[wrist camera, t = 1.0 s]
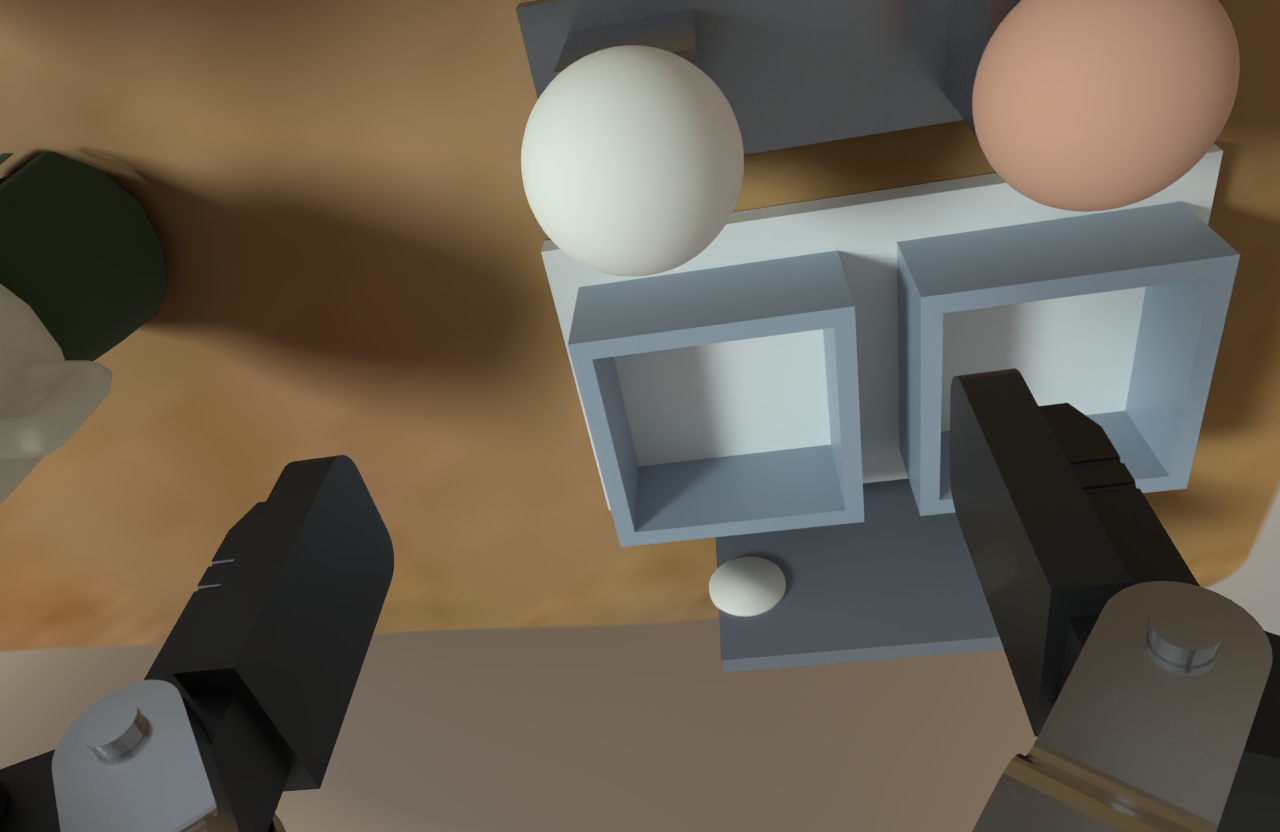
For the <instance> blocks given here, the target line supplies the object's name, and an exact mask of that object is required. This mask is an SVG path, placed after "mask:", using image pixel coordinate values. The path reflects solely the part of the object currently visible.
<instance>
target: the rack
mask: <svg viewBox="0 0 1280 832" xmlns="http://www.w3.org/2000/svg"><path fill="white" fill-rule="evenodd" d="M1222 154H1223V150H1222V149H1220V148H1219V147H1218V146H1216V145H1215V144H1214V143H1213V145H1212V146H1211V148H1210V149H1209V150H1208V152H1207V153H1206V154H1205V155H1204V156H1203V158H1202V159H1201V160H1200V161H1199V162H1198V163H1197V164H1196V165H1195V166H1194V167H1193V168H1192V169H1191V170H1190V171H1188V172H1187V173H1186V174H1185V175H1184V176H1182V177H1181V178H1180V179H1179V180H1177V181H1176V182H1174V183H1173V184H1171V185H1170V186H1168V187H1167V188H1165V189H1164V190H1162V191H1160V192H1158V193H1156V194H1154V195H1153V196H1151V197H1149V198H1146V199H1144V200H1141V201H1139V202H1137V203H1134V204H1131V205H1127V206H1124V207H1120V208H1115V209H1110V210H1103V211H1091V212H1078V211H1069V210H1062V209H1057V208H1052V207H1049V206H1046V205H1043V204H1040V203H1038V202H1036V201H1033V200H1031V199H1029V198H1027V197H1025V196H1023V195H1022V194H1020V193H1019V192H1017V191H1016V190H1014V189H1013V188H1011V187H1010V186H1009V185H1008V184H1007V183H1006V182H1005V181H1004V180H1003V179H1002V178H1001V177H1000V176H999V175H998V174H997V173H992V174H986V175H979V176H972V177H966V178H959V179H952V180H946V181H939V182H932V183H926V184H919V185H912V186H906V187H899V188H893V189H886V190H879V191H873V192H866V193H859V194H853V195H846V196H839V197H833V198H826V199H819V200H813V201H806V202H799V203H793V204H786V205H779V206H773V207H766V208H759V209H753V210H746V211H739V212H733V213H732V214H731V216H730V218H729V220H728V222H727V224H726V225H725V227H724V228H723V229H722V231H721V232H720V234H719V235H718V236H717V237H716V238H715V239H714V240H713V241H712V242H711V244H710V245H709V246H708V247H707V248H706V249H704V250H703V251H702V252H701V253H700V254H698V255H697V256H696V257H694V258H693V259H691V260H690V261H688V262H686V263H685V264H683V265H680V266H678V267H676V268H674V269H671V270H668V271H665V272H662V273H658V274H653V275H648V276H638V277H629V276H618V275H611V274H607V273H604V272H600V271H597V270H595V269H592V268H590V267H587V266H585V265H583V264H582V263H580V262H578V261H576V260H574V259H573V258H571V257H570V256H569V255H567V254H566V253H565V252H563V251H562V250H561V249H560V248H559V247H558V246H557V245H556V244H554V243H553V241H552V240H546V241H544V243H543V247H542V250H541V254H542V257H543V261H544V265H545V269H546V273H547V276H548V280H549V284H550V288H551V292H552V295H553V299H554V303H555V307H556V311H557V314H558V318H559V322H560V326H561V330H562V333H563V337H564V341H565V345H566V349H567V352H568V356H569V360H570V364H571V368H572V371H573V375H574V379H575V383H576V386H577V390H578V394H579V398H580V402H581V405H582V409H583V413H584V417H585V421H586V424H587V428H588V432H589V436H590V440H591V443H592V447H593V451H594V455H595V459H596V462H597V466H598V470H599V474H600V478H601V481H602V485H603V489H604V493H605V497H606V500H607V504H608V508H609V511H611V512H612V516H613V520H614V523H615V527H616V531H617V535H618V539H619V543H620V546H621V547H625V546H635V545H645V544H654V543H664V542H674V541H683V540H693V539H703V538H712V537H722V536H732V535H742V534H751V533H761V532H771V531H780V530H790V529H800V528H809V527H819V526H829V525H838V524H848V523H858V522H864V501H863V483H870V482H879V481H889V480H898V479H907V478H909V482H910V485H911V488H912V491H913V494H914V497H915V501H916V504H917V507H918V510H919V513H920V516H926V515H935V514H945V513H955V508H954V503H953V498H952V492H951V485H950V471H949V463H950V393H951V382H952V379H953V377H954V376H959V375H967V374H974V373H982V372H990V371H997V370H1005V369H1012V368H1016V369H1018V370H1019V372H1020V373H1021V375H1022V376H1023V378H1024V380H1025V382H1026V384H1027V386H1028V387H1029V389H1030V391H1031V393H1032V395H1033V397H1034V399H1035V400H1036V402H1037V404H1038V406H1045V405H1053V404H1061V403H1069V404H1070V405H1072V406H1073V407H1074V408H1076V409H1077V410H1079V411H1080V412H1082V413H1083V414H1084V415H1086V416H1087V417H1089V418H1090V419H1092V420H1093V421H1094V422H1096V423H1097V424H1099V425H1100V426H1102V428H1103V430H1104V431H1105V433H1106V434H1107V436H1108V438H1109V439H1110V441H1111V443H1112V444H1113V446H1114V448H1115V449H1116V451H1117V452H1118V454H1119V456H1120V461H1121V463H1124V464H1125V465H1126V467H1127V469H1128V470H1129V472H1130V474H1131V475H1132V477H1133V478H1134V480H1135V485H1136V488H1140V490H1141V492H1142V493H1148V492H1158V491H1168V490H1177V489H1187V485H1188V480H1189V476H1190V472H1191V467H1192V463H1193V459H1194V454H1195V450H1196V446H1197V441H1198V437H1199V432H1200V428H1201V424H1202V419H1203V415H1204V411H1205V406H1206V402H1207V398H1208V393H1209V389H1210V385H1211V380H1212V376H1213V372H1214V367H1215V363H1216V358H1217V354H1218V350H1219V345H1220V341H1221V337H1222V332H1223V328H1224V324H1225V319H1226V315H1227V311H1228V306H1229V302H1230V298H1231V293H1232V289H1233V284H1234V280H1235V276H1236V271H1237V267H1238V263H1239V258H1240V254H1239V253H1238V252H1237V251H1236V250H1235V249H1234V248H1233V247H1231V246H1230V245H1229V244H1228V243H1227V242H1226V241H1225V240H1224V239H1223V238H1221V237H1220V236H1219V235H1218V234H1217V233H1216V232H1215V231H1214V230H1213V229H1211V228H1210V227H1209V226H1208V223H1209V218H1210V213H1211V208H1212V204H1213V199H1214V194H1215V189H1216V184H1217V179H1218V174H1219V169H1220V164H1221V159H1222Z"/></svg>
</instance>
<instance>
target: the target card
mask: <svg viewBox="0 0 1280 832" xmlns="http://www.w3.org/2000/svg"><path fill="white" fill-rule="evenodd" d="M863 501H864V522H858V523H848V524H838V525H829V526H819V527H809V528H800V529H790V530H780V531H771V532H761V533H751V534H742V535H732V536H722V537H716V553H717V570H716V571H715V572H714V573H713V575H712V576H711V579H710V582H709V592H710V597H711V599H712V601H713V603H714V604H715V606H716V607H717V608H718V609H719V619H720V641H721V661H722V666H723V671H724V672H736V671H748V670H761V669H772V668H784V667H795V666H808V665H820V664H832V663H844V662H856V661H867V660H879V659H880V660H881V659H892V658H905V657H917V656H928V655H940V654H953V653H965V652H977V651H988V650H1000V649H1004V648H1003V645H1002V642H1001V640H1000V637H999V634H998V631H997V628H996V625H995V623H994V620H993V617H992V614H991V611H990V609H989V606H988V603H987V600H986V597H985V595H984V592H983V589H982V586H981V583H980V581H979V578H978V575H977V572H976V569H975V566H974V564H973V561H972V558H971V555H970V552H969V550H968V547H967V544H966V541H965V538H964V536H963V533H962V530H961V527H960V524H959V522H958V519H957V515H956V512H955V513H945V514H935V515H926V516H920V513H919V510H918V507H917V504H916V501H915V497H914V494H913V491H912V488H911V485H910V482H909V478H907V479H898V480H889V481H879V482H870V483H863Z"/></svg>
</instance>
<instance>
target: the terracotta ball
mask: <svg viewBox="0 0 1280 832" xmlns="http://www.w3.org/2000/svg"><path fill="white" fill-rule="evenodd" d="M1239 74H1240V54H1239V48H1238V42H1237V38H1236V35H1235V32H1234V29H1233V26H1232V23H1231V20H1230V18H1229V17H1228V15H1227V13H1226V11H1225V9H1224V7H1223V6H1222V5H1221V4H1220V2H1219V1H1218V0H1021V1H1020V2H1019V3H1018V4H1017V5H1016V6H1015V7H1014V8H1013V9H1012V10H1011V11H1010V12H1009V13H1008V15H1007V16H1006V17H1005V18H1004V20H1003V21H1002V22H1001V23H1000V25H999V26H998V28H997V29H996V31H995V32H994V34H993V35H992V37H991V38H990V40H989V42H988V44H987V46H986V48H985V50H984V52H983V55H982V58H981V61H980V63H979V66H978V69H977V73H976V78H975V82H974V87H973V97H972V110H973V120H974V126H975V131H976V135H977V138H978V141H979V144H980V147H981V149H982V150H983V152H984V154H985V156H986V158H987V160H988V162H989V164H990V165H991V166H992V168H993V169H994V170H995V172H996V173H997V174H998V175H999V176H1000V177H1001V178H1002V179H1003V180H1004V181H1005V182H1006V183H1007V184H1008V185H1009V186H1010V187H1011V188H1013V189H1014V190H1016V191H1017V192H1019V193H1020V194H1022V195H1023V196H1025V197H1027V198H1029V199H1031V200H1033V201H1036V202H1038V203H1040V204H1043V205H1046V206H1049V207H1052V208H1057V209H1062V210H1069V211H1078V212H1091V211H1103V210H1110V209H1115V208H1120V207H1124V206H1127V205H1131V204H1134V203H1137V202H1139V201H1141V200H1144V199H1146V198H1149V197H1151V196H1153V195H1154V194H1156V193H1158V192H1160V191H1162V190H1164V189H1165V188H1167V187H1168V186H1170V185H1171V184H1173V183H1174V182H1176V181H1177V180H1179V179H1180V178H1181V177H1182V176H1184V175H1185V174H1186V173H1187V172H1188V171H1190V170H1191V169H1192V168H1193V167H1194V166H1195V165H1196V164H1197V163H1198V162H1199V161H1200V160H1201V159H1202V158H1203V156H1204V155H1205V154H1206V153H1207V152H1208V150H1209V149H1210V148H1211V146H1212V145H1213V143H1214V142H1215V141H1216V139H1217V138H1218V136H1219V135H1220V133H1221V131H1222V129H1223V127H1224V126H1225V124H1226V122H1227V120H1228V118H1229V115H1230V113H1231V110H1232V108H1233V105H1234V101H1235V98H1236V94H1237V89H1238V82H1239Z"/></svg>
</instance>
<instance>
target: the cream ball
mask: <svg viewBox="0 0 1280 832" xmlns="http://www.w3.org/2000/svg"><path fill="white" fill-rule="evenodd" d="M521 169H522V178H523V183H524V189H525V193H526V196H527V199H528V202H529V205H530V207H531V209H532V211H533V213H534V215H535V218H536V219H537V221H538V223H539V224H540V226H541V227H542V229H543V230H544V232H545V233H546V234H547V235H548V237H549V238H550V239H551V240H552V241H553V243H554V244H556V245H557V246H558V247H559V248H560V249H561V250H562V251H563V252H565V253H566V254H567V255H569V256H570V257H571V258H573V259H574V260H576V261H578V262H580V263H582V264H583V265H585V266H587V267H590V268H592V269H595V270H597V271H600V272H604V273H607V274H611V275H618V276H629V277H638V276H648V275H653V274H658V273H662V272H665V271H668V270H671V269H674V268H676V267H678V266H680V265H683V264H685V263H686V262H688V261H690V260H691V259H693V258H694V257H696V256H697V255H698V254H700V253H701V252H702V251H703V250H704V249H706V248H707V247H708V246H709V245H710V244H711V242H712V241H713V240H714V239H715V238H716V237H717V236H718V235H719V234H720V232H721V231H722V229H723V228H724V227H725V225H726V224H727V222H728V220H729V218H730V216H731V214H732V213H733V210H734V208H735V205H736V202H737V200H738V197H739V194H740V190H741V186H742V181H743V171H744V150H743V142H742V137H741V132H740V129H739V126H738V123H737V120H736V117H735V114H734V112H733V110H732V108H731V106H730V104H729V102H728V100H727V99H726V97H725V96H724V94H723V93H722V91H721V90H720V89H719V87H718V86H717V85H716V84H715V83H714V82H713V81H712V80H711V78H710V77H708V76H707V75H706V74H705V73H704V72H703V71H701V70H700V69H699V68H698V67H697V66H695V65H694V64H692V63H691V62H689V61H687V60H686V59H684V58H682V57H680V56H678V55H676V54H674V53H672V52H668V51H665V50H662V49H659V48H654V47H648V46H638V45H625V46H616V47H611V48H607V49H603V50H599V51H597V52H594V53H592V54H589V55H587V56H585V57H583V58H581V59H579V60H578V61H576V62H574V63H572V64H571V65H569V66H568V67H567V68H566V69H564V70H563V71H562V72H560V73H559V74H558V75H557V76H556V77H555V78H554V79H553V80H552V81H551V82H550V84H549V85H548V86H547V88H546V89H545V90H544V92H543V93H542V94H541V96H540V97H539V99H538V100H537V102H536V104H535V106H534V108H533V110H532V112H531V114H530V117H529V120H528V122H527V125H526V129H525V134H524V138H523V143H522V152H521Z"/></svg>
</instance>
